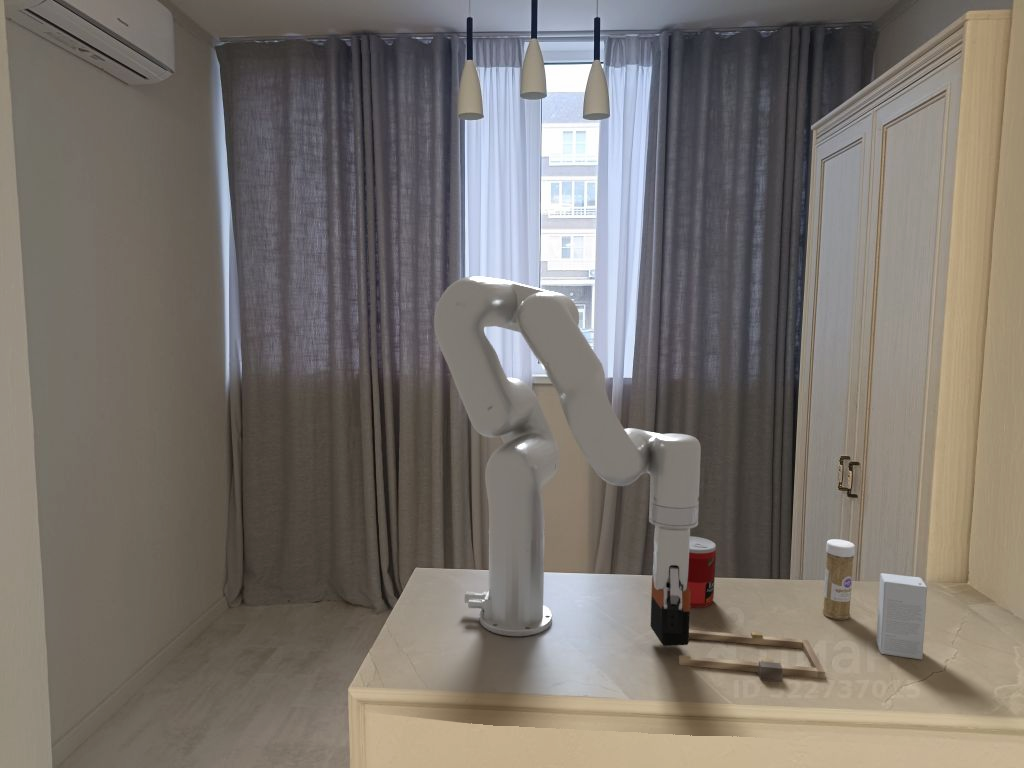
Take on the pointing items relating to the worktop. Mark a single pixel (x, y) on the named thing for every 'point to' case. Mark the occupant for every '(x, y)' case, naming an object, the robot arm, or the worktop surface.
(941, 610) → the worktop surface
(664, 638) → the battery
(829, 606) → the sprinkles bottle
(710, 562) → the canned food
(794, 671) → the track
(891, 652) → the skincare box
